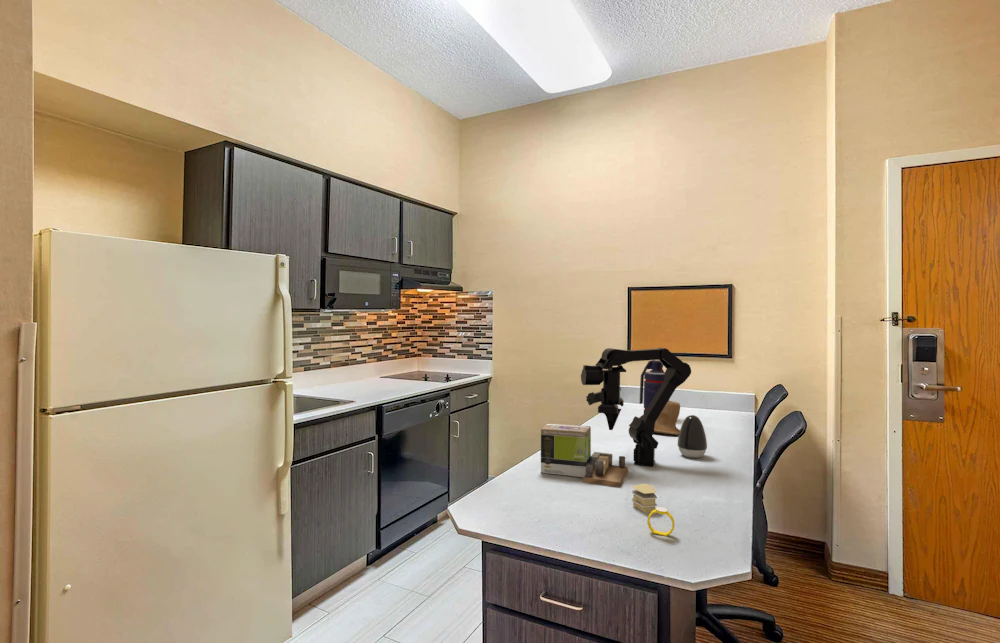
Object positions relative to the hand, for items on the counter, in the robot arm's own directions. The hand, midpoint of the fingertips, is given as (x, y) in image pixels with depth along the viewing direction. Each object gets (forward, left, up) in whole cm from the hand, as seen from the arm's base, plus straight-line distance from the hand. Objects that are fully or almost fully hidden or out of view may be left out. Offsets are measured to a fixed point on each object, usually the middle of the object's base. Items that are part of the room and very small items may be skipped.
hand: (610, 429), depth 174 cm
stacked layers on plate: (-15, +36, -13) cm, 41 cm away
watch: (-21, +52, -12) cm, 57 cm away
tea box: (+12, +14, -12) cm, 22 cm away
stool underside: (-1, +14, -12) cm, 18 cm away
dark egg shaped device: (-26, -23, -12) cm, 37 cm away
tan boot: (-13, -58, -12) cm, 61 cm away
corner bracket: (+1, +10, -11) cm, 15 cm away
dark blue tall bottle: (-7, -82, -12) cm, 84 cm away
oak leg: (0, +14, -10) cm, 17 cm away
